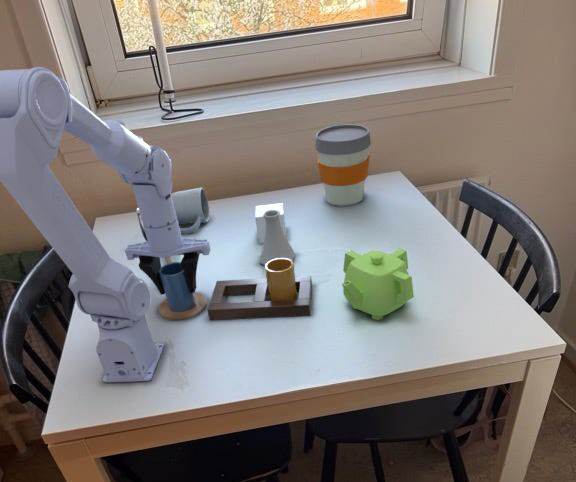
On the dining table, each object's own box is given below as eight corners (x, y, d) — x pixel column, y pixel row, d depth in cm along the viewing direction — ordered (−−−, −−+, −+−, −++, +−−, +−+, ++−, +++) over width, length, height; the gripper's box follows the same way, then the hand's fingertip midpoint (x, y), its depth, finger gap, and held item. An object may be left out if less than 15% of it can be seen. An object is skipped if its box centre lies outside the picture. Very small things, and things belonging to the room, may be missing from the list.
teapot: (344, 289, 101) (341, 240, 95) (407, 286, 100) (409, 236, 94) (343, 326, 93) (341, 275, 86) (413, 323, 91) (415, 271, 85)
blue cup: (192, 311, 100) (183, 275, 95) (166, 312, 101) (155, 276, 96) (198, 296, 104) (189, 261, 99) (172, 298, 105) (162, 262, 100)
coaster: (202, 319, 99) (201, 317, 98) (153, 321, 100) (153, 319, 100) (210, 292, 105) (210, 290, 105) (165, 295, 107) (164, 293, 106)
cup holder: (310, 315, 96) (309, 304, 95) (209, 320, 98) (207, 310, 97) (312, 285, 104) (311, 275, 102) (218, 290, 106) (216, 280, 104)
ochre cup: (296, 308, 98) (292, 271, 93) (268, 309, 99) (263, 272, 94) (298, 293, 102) (294, 257, 97) (271, 294, 103) (266, 258, 98)
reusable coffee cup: (345, 183, 139) (342, 120, 130) (381, 195, 132) (382, 129, 122) (308, 200, 134) (302, 135, 124) (344, 213, 126) (341, 145, 116)
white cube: (286, 240, 119) (283, 214, 115) (259, 243, 119) (255, 217, 115) (285, 228, 123) (282, 202, 119) (259, 231, 124) (255, 205, 120)
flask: (253, 265, 112) (246, 218, 105) (270, 249, 116) (264, 203, 110) (284, 270, 109) (278, 223, 102) (301, 254, 113) (296, 207, 107)
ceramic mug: (178, 216, 135) (170, 185, 129) (211, 213, 134) (204, 182, 129) (170, 236, 127) (161, 204, 122) (205, 233, 126) (197, 201, 121)
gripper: (206, 207, 94) (221, 277, 103) (125, 213, 95) (146, 281, 104) (198, 225, 88) (214, 297, 97) (112, 231, 90) (136, 302, 99)
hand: (178, 290), depth 100 cm, fingers closed on blue cup, 5 cm apart
